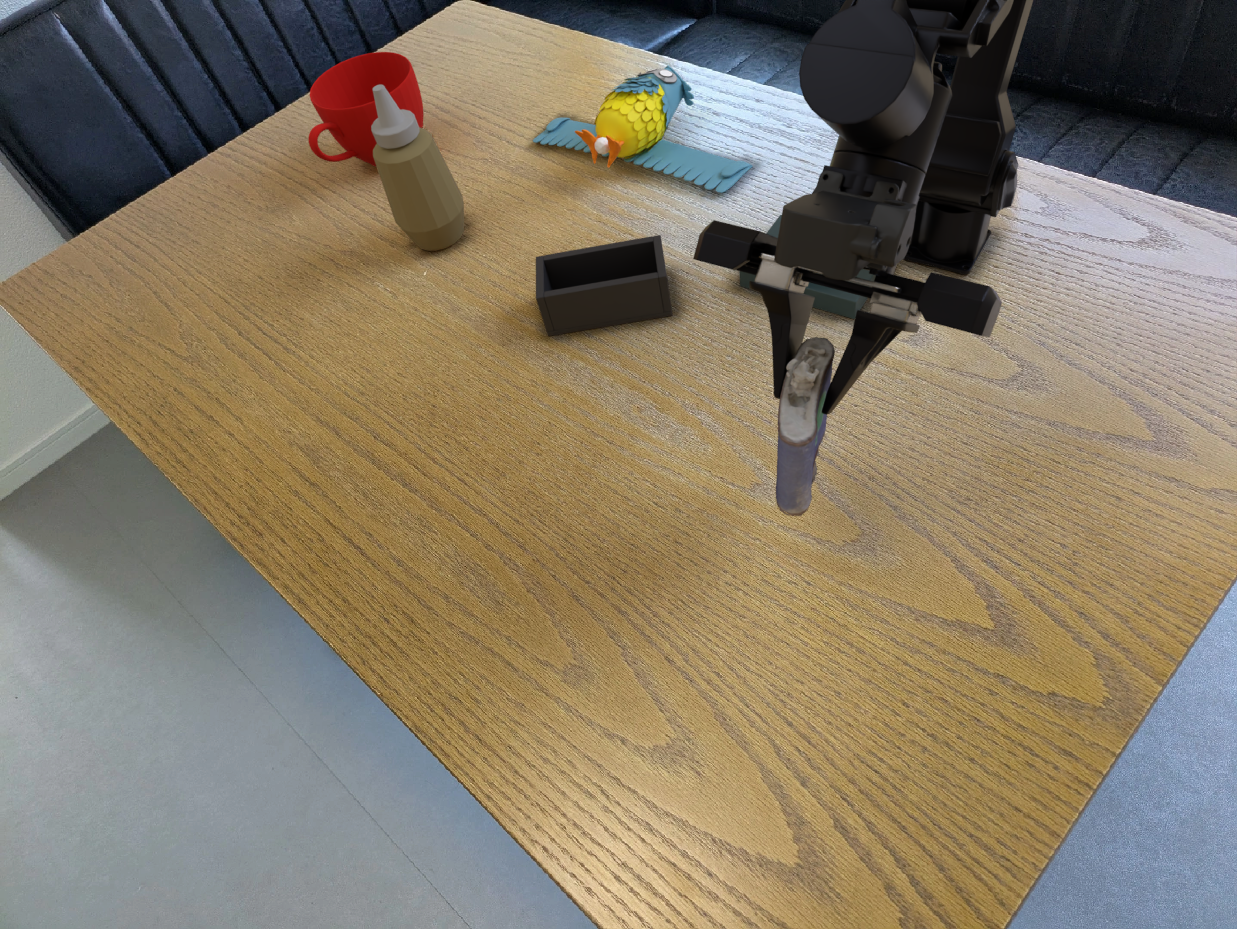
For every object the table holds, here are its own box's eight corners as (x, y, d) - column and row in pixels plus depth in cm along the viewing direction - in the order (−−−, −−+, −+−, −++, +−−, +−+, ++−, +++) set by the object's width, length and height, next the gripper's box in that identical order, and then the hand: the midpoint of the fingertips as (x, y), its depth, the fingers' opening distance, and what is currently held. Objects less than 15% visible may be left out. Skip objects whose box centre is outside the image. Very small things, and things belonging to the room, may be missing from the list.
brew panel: (892, 259, 80) (896, 226, 77) (854, 319, 76) (857, 287, 73) (780, 231, 85) (780, 199, 82) (739, 286, 81) (737, 254, 78)
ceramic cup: (304, 189, 105) (264, 118, 97) (388, 117, 113) (357, 45, 105) (375, 210, 100) (340, 136, 92) (459, 133, 107) (432, 58, 99)
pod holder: (666, 274, 84) (660, 234, 80) (672, 315, 80) (666, 275, 76) (547, 294, 85) (535, 256, 81) (548, 336, 82) (535, 298, 77)
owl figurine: (495, 93, 94) (573, 31, 101) (514, 160, 101) (586, 98, 107) (701, 143, 81) (775, 68, 88) (707, 215, 88) (775, 141, 95)
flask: (808, 521, 57) (814, 426, 48) (766, 513, 57) (765, 419, 49) (830, 419, 61) (840, 316, 53) (791, 413, 62) (794, 311, 54)
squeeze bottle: (394, 254, 94) (323, 108, 80) (428, 210, 98) (366, 63, 84) (453, 262, 91) (390, 113, 77) (485, 217, 95) (432, 67, 81)
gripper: (692, 106, 47) (625, 366, 51) (1032, 166, 39) (921, 468, 43) (757, 148, 57) (697, 364, 61) (1040, 203, 49) (949, 447, 53)
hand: (801, 405), depth 54 cm, fingers closed on flask, 3 cm apart
